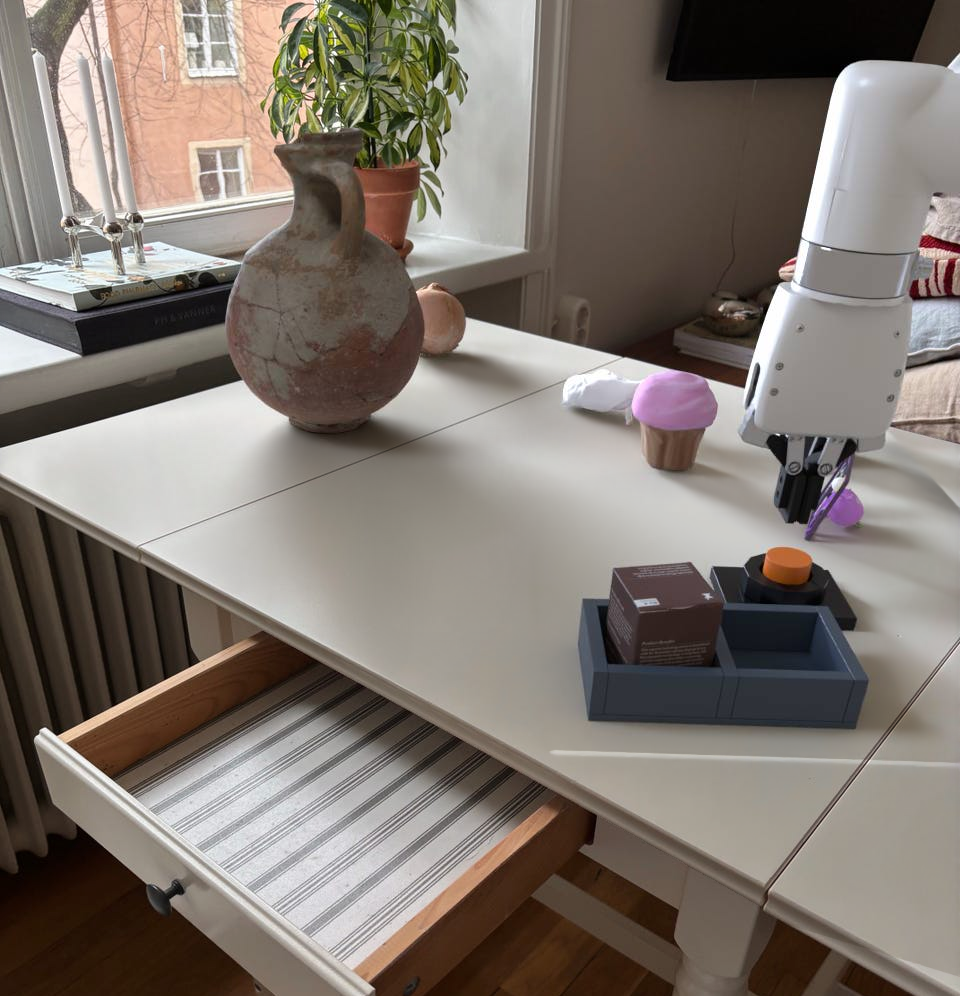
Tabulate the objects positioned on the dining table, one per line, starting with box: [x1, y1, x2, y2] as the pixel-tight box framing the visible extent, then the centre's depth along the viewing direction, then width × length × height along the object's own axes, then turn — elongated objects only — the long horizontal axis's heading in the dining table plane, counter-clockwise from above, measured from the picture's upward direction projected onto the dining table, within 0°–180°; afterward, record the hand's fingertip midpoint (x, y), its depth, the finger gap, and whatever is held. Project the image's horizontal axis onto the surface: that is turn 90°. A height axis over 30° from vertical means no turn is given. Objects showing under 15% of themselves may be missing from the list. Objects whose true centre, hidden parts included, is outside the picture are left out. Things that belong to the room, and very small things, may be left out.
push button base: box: [709, 552, 858, 632], centre depth 81 cm, size 10×8×3 cm
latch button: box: [762, 546, 813, 585], centre depth 79 cm, size 4×4×2 cm
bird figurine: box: [561, 369, 643, 426], centre depth 117 cm, size 5×7×10 cm
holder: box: [577, 597, 870, 730], centre depth 70 cm, size 18×10×4 cm, turn 89°
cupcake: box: [632, 369, 719, 471], centre depth 103 cm, size 9×9×10 cm
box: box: [604, 561, 724, 667], centre depth 69 cm, size 6×6×7 cm
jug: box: [224, 127, 425, 434], centre depth 106 cm, size 22×22×30 cm
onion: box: [415, 282, 467, 358], centre depth 134 cm, size 10×9×10 cm
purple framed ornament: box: [804, 453, 865, 542], centre depth 92 cm, size 7×5×9 cm
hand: (791, 516), depth 77 cm, fingers closed
